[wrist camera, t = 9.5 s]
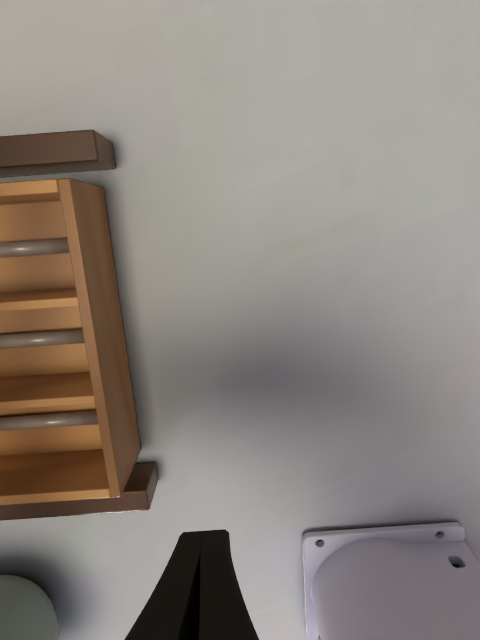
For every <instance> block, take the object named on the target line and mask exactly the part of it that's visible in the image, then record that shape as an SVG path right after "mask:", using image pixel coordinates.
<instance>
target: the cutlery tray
mask: <svg viewBox="0 0 480 640" xmlns="http://www.w3.org/2000/svg"><path fill="white" fill-rule="evenodd" d="M140 450H141V446H140V439H139V432H138V425H137V418H136V411H135V404H134V397H133V390H132V383H131V376H130V369H129V362H128V355H127V348H126V341H125V334H124V327H123V320H122V313H121V306H120V300H119V293H118V286H117V279H116V272H115V265H114V258H113V251H112V244H111V237H110V230H109V223H108V216H107V209H106V202H105V195H104V189H103V188H102V187H98V186H95V185H91V184H88V183H84V182H81V181H77V180H74V179H70V178H62V179H48V180H34V181H20V182H7V183H0V505H11V504H25V503H40V502H55V501H69V500H84V499H99V498H110V497H111V498H114V497H121V495H122V493H123V491H124V488H125V486H126V484H127V481H128V479H129V477H130V474H131V472H132V469H133V467H134V465H135V462H136V460H137V458H138V455H139V453H140Z"/></svg>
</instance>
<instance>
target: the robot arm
mask: <svg viewBox="0 0 480 640" xmlns="http://www.w3.org/2000/svg"><path fill="white" fill-rule="evenodd" d="M439 531H441V532H439ZM437 532H439V533H437ZM436 533H437V534H436ZM317 540H322V541H320V542H316V541H317ZM302 556H303V581H304V605H305V629H306V638H307V640H480V562H479V561H478V559H477V558H476V556H475V555H474V554H473V552H472V551H471V550H470V548H469V547H468V545H467V544H466V543H465V529H464V528H463V527H462V525H461V524H460V523H457V522H450V523H436V524H421V525H407V526H392V527H378V528H363V529H349V530H334V531H320V532H309V533H306V534H304V536H303V537H302ZM125 640H259V639H258V636H257V634H256V631H255V629H254V627H253V624H252V621H251V619H250V616H249V614H248V611H247V608H246V606H245V603H244V600H243V597H242V594H241V591H240V588H239V584H238V581H237V578H236V574H235V571H234V567H233V562H232V558H231V551H230V540H229V532H227V531H226V530H211V531H196V532H183V533H182V534H181V535H180V537H179V539H178V542H177V544H176V547H175V549H174V551H173V553H172V556H171V558H170V560H169V562H168V564H167V566H166V568H165V570H164V572H163V574H162V576H161V578H160V580H159V582H158V584H157V585H156V587H155V589H154V591H153V593H152V595H151V597H150V598H149V600H148V602H147V604H146V605H145V607H144V609H143V610H142V612H141V614H140V615H139V617H138V619H137V620H136V622H135V624H134V625H133V627H132V629H131V630H130V632H129V633H128V635H127V637H126V638H125Z"/></svg>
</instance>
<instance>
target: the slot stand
mask: <svg viewBox="0 0 480 640" xmlns="http://www.w3.org/2000/svg"><path fill="white" fill-rule="evenodd" d="M115 168H116V166H115V158H114V151H113V144H112V142H111V141H109V140H108V139H107V138H105V137H104V136H102V135H101V134H99V133H98V132H96V131H95V130H80V131H67V132H53V133H40V134H26V135H13V136H0V177H13V176H26V175H40V174H53V173H67V172H80V171H94V170H107V169H115ZM157 482H158V474H157V466H156V463H155V462H153V463H139V464H135V465H134V467H133V469H132V472H131V474H130V477H129V479H128V481H127V484H126V486H125V488H124V491H123V493H122V495H121V497H114V498H111V497H110V498H99V499H84V500H69V501H55V502H40V503H25V504H11V505H0V520H13V519H27V518H42V517H56V516H71V515H85V514H99V513H114V512H128V511H143V510H149V509H150V505H151V502H152V499H153V495H154V492H155V489H156V486H157Z"/></svg>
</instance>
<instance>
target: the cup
mask: <svg viewBox="0 0 480 640" xmlns="http://www.w3.org/2000/svg"><path fill="white" fill-rule="evenodd" d="M58 634H59V633H58V622H57V615H56V612H55V609H54V606H53V604H52V602H51V600H50V598H49V597H48V595H47V594H46V593H45V592H44V590H43V589H42V588H40V587H39V586H38V585H37V584H35V583H34V582H32V581H30V580H28V579H26V578H23V577H20V576H14V575H0V640H58Z"/></svg>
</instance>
